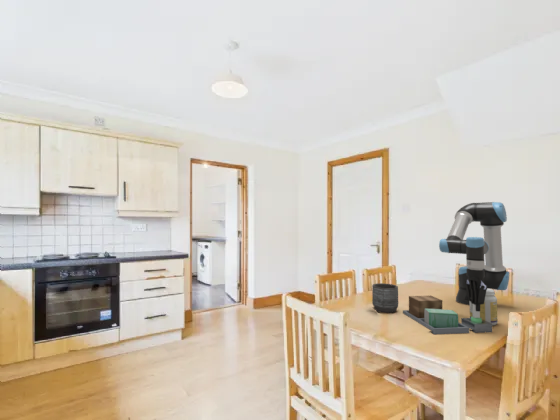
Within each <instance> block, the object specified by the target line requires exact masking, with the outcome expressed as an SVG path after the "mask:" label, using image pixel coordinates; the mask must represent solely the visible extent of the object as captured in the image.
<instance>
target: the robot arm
mask: <svg viewBox="0 0 560 420" xmlns="http://www.w3.org/2000/svg"><path fill="white" fill-rule="evenodd" d="M507 216H508V215H507V211H506V207H505V205H504V203H502V202H500V201H499V202H498V201H496V202H495V201H492V202H489V201H487V202H470V203H467V204H466V205H464V206H462V207H460V208H459V209H458V210H457V211H456V213H455V214H454V221H453V223H452V226H451V228H450V231H449V233H448V235H447V237H446V238H442V239H440V240H439V244H438V245H439V246H438V247H439V251H440V252H441V253H446V254H459V255H466V257H465V258H466V266H460V267H459V268H458V274H457V275H458V290H457V293H456V296H455V301H456V302H457V303H459V304H463V305H467V306H469V301H471V303H472V315H473V317H474V318H480V305H481V304H484V301H485V295H486V290H487V289H492V290H494V291H495V290H497V291H506V290H508V286H509V281H510V271H508V270H507V268H506V267H505V266H504V265H503V263H504V262H503V247H502V246H503V245H502V227H503V226H504V225H505V223H506V222H507V220H508V218H507ZM473 222H480V223H479V224H480V226H481V227H482V228H483V237H478V236H467V237H466V239H464V237H465V235H466V233H467V230H468V228H469V226H470V224H471V223H473Z"/></svg>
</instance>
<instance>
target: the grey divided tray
mask: <svg viewBox="0 0 560 420" xmlns="http://www.w3.org/2000/svg"><path fill="white" fill-rule="evenodd" d="M402 314H404V315H405V316H407V317H408V318H410V319H412V320H413V321H415V322H416V323H418V324H420V325H422V326H423V327H424V328H426V329H428V330H430V331H429V332H430V333H431V334H432V335H450V334H451V335H452V334H470V328H469V327H467V326H465V325H463V324H461V322H459V323H458V327H452V328H437V327H432V326H430V325H429V324H427V323H425V322H424V318H417V317H415V316H413V315H412V314H410V313H409V309H405V310H402Z"/></svg>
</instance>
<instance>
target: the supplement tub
mask: <svg viewBox="0 0 560 420" xmlns="http://www.w3.org/2000/svg"><path fill="white" fill-rule="evenodd" d="M468 306H469V318H471V317H472V316H473V315H472V303H471V301H469V305H468ZM480 318H482V320H485V321H487V322H489V323H492V327H493V326H496V325H497V324H498V322H499V321H498V319H499V318H498V298H497V296H496V291H495V289H488V288H487V290H486V295H485V301H484V304H481V305H480Z"/></svg>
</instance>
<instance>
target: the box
mask: <svg viewBox="0 0 560 420" xmlns="http://www.w3.org/2000/svg"><path fill="white" fill-rule="evenodd" d="M424 322H425V323H427V324H429V325H430V326H432V327H437V328H452V327H458V323H460V322H459V315H458V313H457V312H456V311H454V310H453V309H443V308H442V309H426V308H425V309H424Z"/></svg>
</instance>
